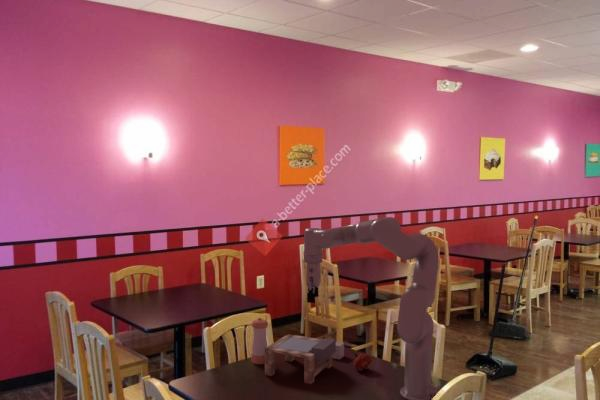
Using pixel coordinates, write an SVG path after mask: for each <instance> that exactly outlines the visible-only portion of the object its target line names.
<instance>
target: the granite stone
mask: <svg viewBox="0 0 600 400" xmlns="http://www.w3.org/2000/svg"><path fill="white" fill-rule="evenodd" d="M344 356H345V342H341V341H336V352H335V353H334V354H332V359H334V360H341V359H342V358H344Z"/></svg>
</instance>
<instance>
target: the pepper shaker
mask: <svg viewBox="0 0 600 400" xmlns="http://www.w3.org/2000/svg"><path fill="white" fill-rule="evenodd" d="M268 324H269V323H268V321H267V320H266V319H264V318H262V317H258V318H256V319H254V320H253V321H252V322H251V326H252V328H253V333H252V334H253V336H252V337H253V338H252V344H251V351H252V352H251V354H250V355H251V356H250V357H251V359H250V360H251V363H252V364H255V365H263V364H264V365H265V348H266V347H268V341H267V327H268V326H269V325H268Z"/></svg>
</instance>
